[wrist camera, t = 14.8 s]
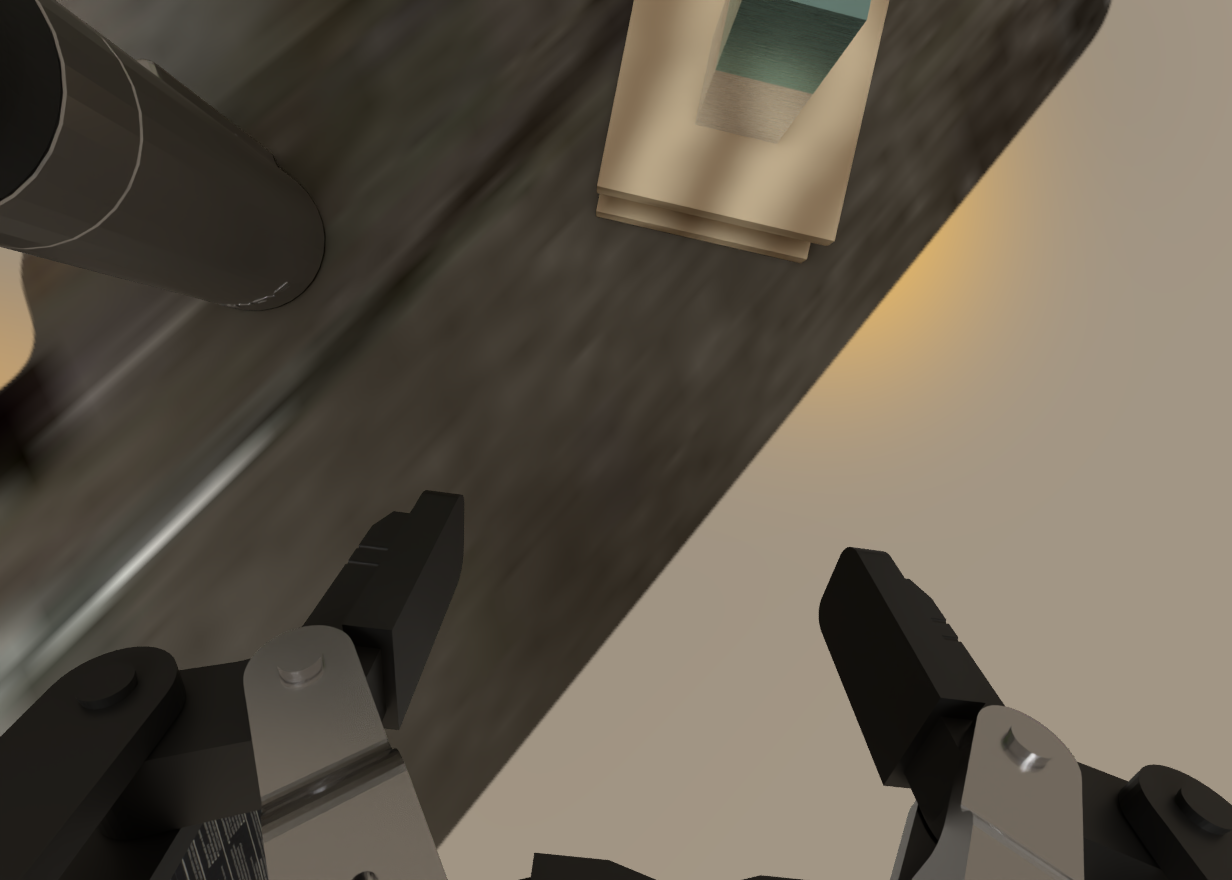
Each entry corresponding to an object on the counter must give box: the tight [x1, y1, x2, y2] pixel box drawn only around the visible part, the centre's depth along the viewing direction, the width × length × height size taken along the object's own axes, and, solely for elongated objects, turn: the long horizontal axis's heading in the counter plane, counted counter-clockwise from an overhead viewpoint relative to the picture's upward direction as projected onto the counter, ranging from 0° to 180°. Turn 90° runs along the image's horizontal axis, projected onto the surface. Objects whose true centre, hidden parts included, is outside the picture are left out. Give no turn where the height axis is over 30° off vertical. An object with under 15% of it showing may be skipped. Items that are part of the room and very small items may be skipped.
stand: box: [596, 0, 889, 263], centre depth 33 cm, size 14×14×5 cm
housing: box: [695, 0, 871, 144], centre depth 25 cm, size 5×5×10 cm
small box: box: [171, 809, 269, 880], centre depth 32 cm, size 11×6×10 cm, turn 12°
